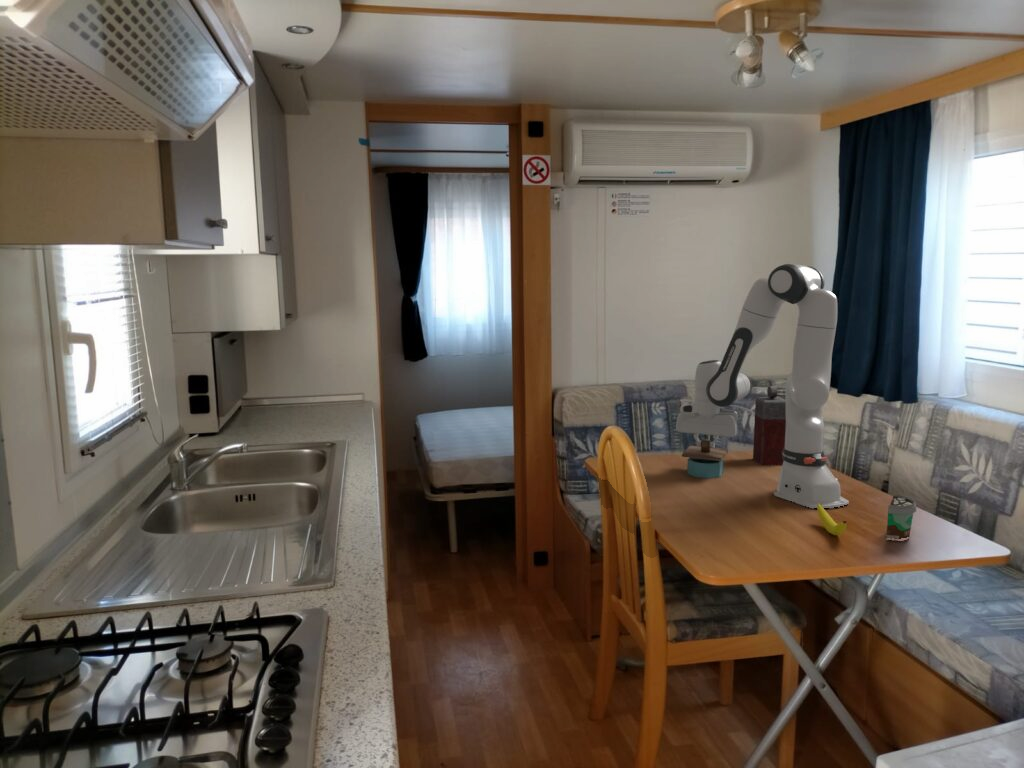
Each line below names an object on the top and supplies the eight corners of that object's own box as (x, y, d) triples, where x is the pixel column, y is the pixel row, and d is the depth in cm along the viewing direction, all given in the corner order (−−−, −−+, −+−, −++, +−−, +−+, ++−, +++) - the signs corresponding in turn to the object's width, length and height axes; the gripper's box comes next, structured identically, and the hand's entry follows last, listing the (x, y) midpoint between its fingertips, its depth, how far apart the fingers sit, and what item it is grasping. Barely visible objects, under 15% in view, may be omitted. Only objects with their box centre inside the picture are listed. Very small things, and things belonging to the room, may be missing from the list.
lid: (721, 461, 250) (721, 446, 250) (682, 456, 256) (682, 442, 255) (727, 452, 262) (728, 438, 261) (690, 448, 267) (690, 434, 267)
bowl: (727, 476, 256) (728, 462, 255) (698, 479, 253) (699, 464, 252) (710, 468, 267) (711, 454, 266) (682, 470, 264) (682, 456, 263)
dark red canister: (792, 465, 270) (796, 388, 265) (761, 465, 270) (764, 388, 265) (782, 458, 279) (786, 383, 274) (752, 458, 278) (755, 384, 274)
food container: (912, 546, 193) (915, 509, 191) (885, 542, 196) (888, 505, 194) (916, 532, 203) (919, 496, 201) (890, 528, 206) (893, 492, 205)
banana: (822, 519, 213) (824, 498, 212) (849, 545, 194) (851, 521, 193) (812, 519, 213) (813, 498, 212) (838, 544, 195) (839, 521, 194)
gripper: (740, 408, 255) (738, 448, 257) (679, 403, 263) (678, 441, 266) (736, 411, 249) (735, 452, 251) (675, 406, 258) (674, 445, 260)
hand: (705, 446), depth 258 cm, fingers closed on lid, 3 cm apart
